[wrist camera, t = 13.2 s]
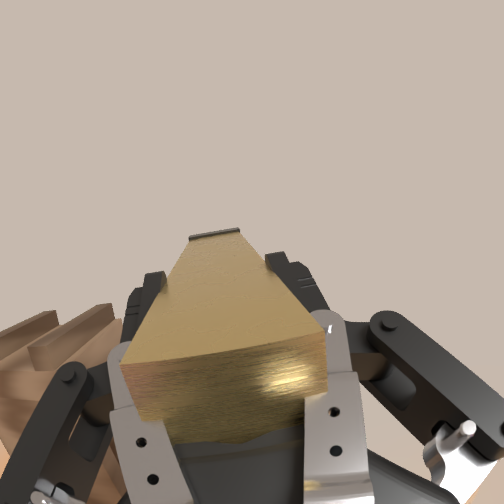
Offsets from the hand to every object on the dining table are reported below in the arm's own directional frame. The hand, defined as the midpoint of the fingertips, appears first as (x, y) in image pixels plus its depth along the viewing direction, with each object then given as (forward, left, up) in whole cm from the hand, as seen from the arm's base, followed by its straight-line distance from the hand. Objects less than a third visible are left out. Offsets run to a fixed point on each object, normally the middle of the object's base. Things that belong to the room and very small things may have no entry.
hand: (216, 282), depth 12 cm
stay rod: (0, +4, -3) cm, 5 cm away
